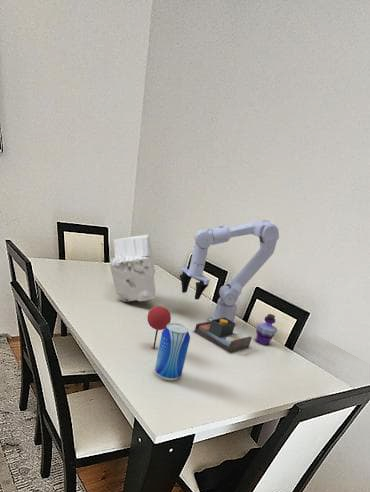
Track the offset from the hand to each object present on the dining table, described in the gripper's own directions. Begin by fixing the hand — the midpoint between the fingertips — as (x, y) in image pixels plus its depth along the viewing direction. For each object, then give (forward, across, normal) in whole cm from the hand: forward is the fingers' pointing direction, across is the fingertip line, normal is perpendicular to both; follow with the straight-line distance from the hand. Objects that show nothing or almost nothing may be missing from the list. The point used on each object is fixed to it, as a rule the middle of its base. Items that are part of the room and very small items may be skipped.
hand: (190, 295), depth 160 cm
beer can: (+10, +34, -42) cm, 55 cm away
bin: (+7, +22, -3) cm, 23 cm away
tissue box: (+10, -24, -12) cm, 28 cm away
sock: (+6, +22, -3) cm, 23 cm away
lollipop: (+10, +18, -34) cm, 40 cm away
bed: (+9, +22, -2) cm, 24 cm away
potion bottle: (+10, +31, +15) cm, 36 cm away
